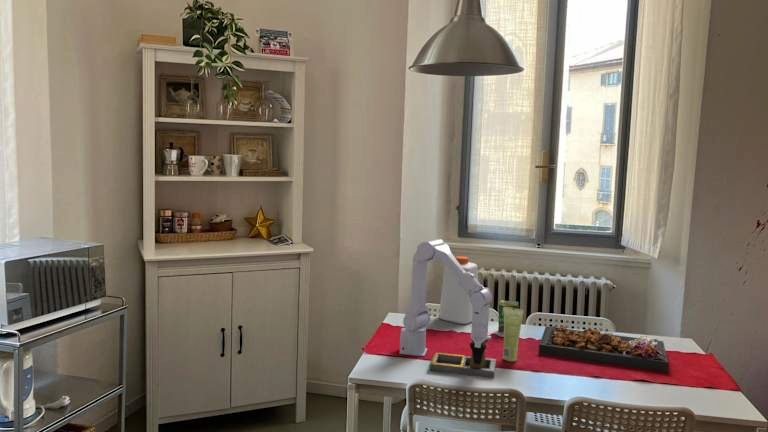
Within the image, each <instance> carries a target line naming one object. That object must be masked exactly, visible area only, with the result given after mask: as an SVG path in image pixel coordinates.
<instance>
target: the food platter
mask: <svg viewBox="0 0 768 432" xmlns="http://www.w3.org/2000/svg"><path fill="white" fill-rule="evenodd" d="M538 355H544V356H550V357H558V358H563V357H564V359H570V360H577V361H585V362H591V363H597V362H598V363H599V364H604V363H605V364H606V365H612V366H618V367H625V368H632V369H639V370H645V371H646V370H648V371H653V372H660V373H667V374H668V373H669V360H668V359H669V358H668V356H667V352H666V348H665V344H664V341H662V340H659V339H657V338H654V339H652V338H651V337H648V335H644V334H642V335H641V334H640V335H639V336H638V337H633V336H632V337H631V336H625V335H617V334H613V333H612V332H609V333H607V332H603V333H602V332H601V330H599V329H598V328H595V329H592V328H588V329H584V330H580V329H573V328H567V326H565V325H561V326H559V327H557V326H554V325H552V326H547V325H545V327H544V331H543V332H542V336H541V339H540V342H539V345H538ZM605 364H604V365H605Z"/></svg>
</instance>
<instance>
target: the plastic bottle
mask: <svg viewBox="0 0 768 432" xmlns="http://www.w3.org/2000/svg"><path fill="white" fill-rule="evenodd" d="M454 257H455V258H456V260H457V261H458V262H459V264H460V265H461V266H462V268H463V269H464V270H465V271H466V272H470V273H471V274H474V275H475V278H476V279H477V281H478V282H479V276H478V275H479V273H478V271H479V270H478V268H479V267H478V264H476V263H474V262H469V257H468V256H461V255H459V256H458V255H456V256H454ZM443 268H444V269H443V279H442V285H441V286H442V288H441V293H440V294H441V295H440V304H439V314H438V316H439V318H440V319H441V320H442V321H446V322H451V323H455V324H458V325H467V324H470V323H472V304H471V302H470V296H469V295H468V294H467V293H466V292H465V291H464V289H463V288H462V287H461V286H460V285H459V283H458V277H457V276H456V275H455V274H454V273H453V272H452V271H451V270H450V269H449V268H448V267H447V266H446V265H445V264H444V267H443Z"/></svg>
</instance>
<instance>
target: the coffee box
mask: <svg viewBox="0 0 768 432" xmlns="http://www.w3.org/2000/svg"><path fill="white" fill-rule="evenodd" d="M498 304H499V305H498V324H497V325H498V328H497V331H498V332H501V333H504V311H503V307H507V308H514V309H519V301H512V300H511V301H510V300H509V301H508V300H502V299H501V300H499V302H498Z"/></svg>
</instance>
